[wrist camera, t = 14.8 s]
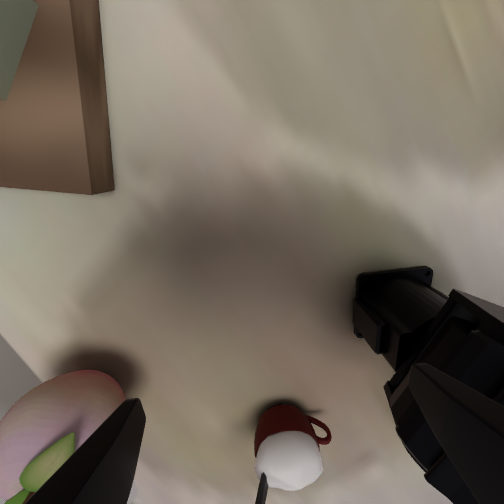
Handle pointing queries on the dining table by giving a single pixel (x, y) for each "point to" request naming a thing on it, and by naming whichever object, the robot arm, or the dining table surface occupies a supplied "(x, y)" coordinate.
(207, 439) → the dining table surface
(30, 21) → the sage-green block
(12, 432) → the decorative fruit
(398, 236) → the dining table surface
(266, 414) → the cocoa
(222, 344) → the dining table surface
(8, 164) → the walnut base board
